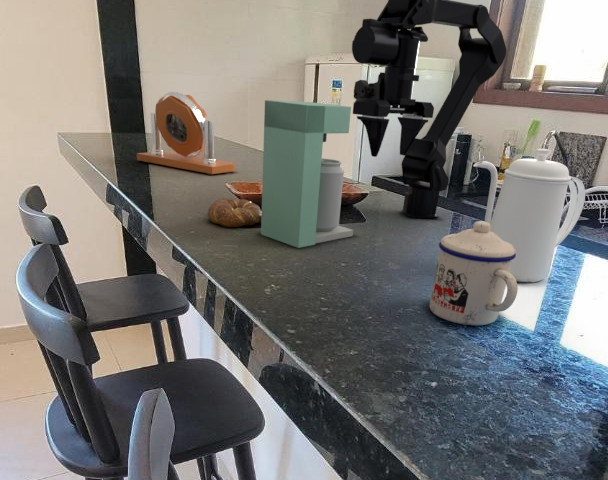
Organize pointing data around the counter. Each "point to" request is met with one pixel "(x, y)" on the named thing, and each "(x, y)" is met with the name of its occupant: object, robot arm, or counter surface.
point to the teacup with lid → (473, 277)
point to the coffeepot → (533, 211)
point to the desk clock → (183, 136)
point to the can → (329, 195)
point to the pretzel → (234, 212)
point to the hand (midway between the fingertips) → (388, 155)
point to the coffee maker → (297, 169)
